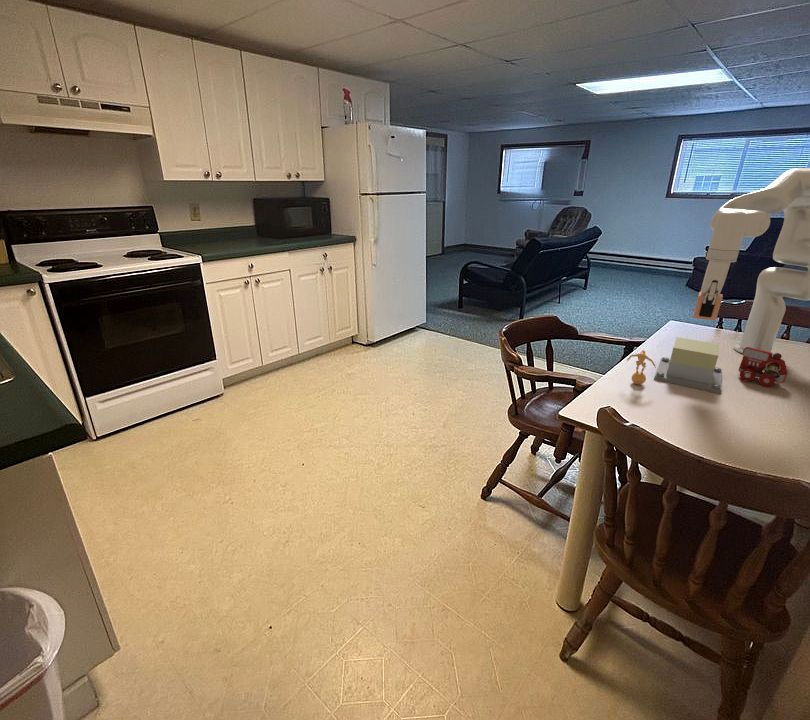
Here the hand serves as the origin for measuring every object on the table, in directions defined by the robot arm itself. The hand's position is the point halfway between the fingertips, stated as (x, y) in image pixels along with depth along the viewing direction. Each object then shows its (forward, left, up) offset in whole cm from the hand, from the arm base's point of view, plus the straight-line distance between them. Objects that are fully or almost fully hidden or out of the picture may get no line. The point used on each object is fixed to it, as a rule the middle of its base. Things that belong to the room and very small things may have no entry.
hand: (705, 313), depth 136 cm
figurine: (+17, -13, -22) cm, 31 cm away
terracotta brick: (0, 0, -1) cm, 1 cm away
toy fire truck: (-9, +19, -22) cm, 31 cm away
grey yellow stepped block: (0, 0, -22) cm, 22 cm away
